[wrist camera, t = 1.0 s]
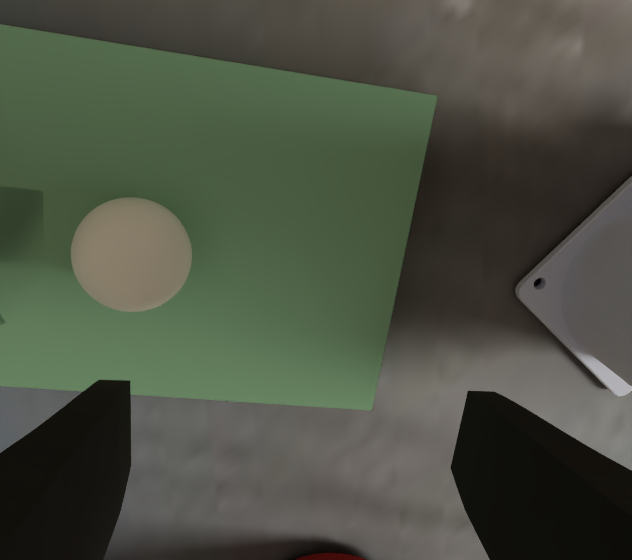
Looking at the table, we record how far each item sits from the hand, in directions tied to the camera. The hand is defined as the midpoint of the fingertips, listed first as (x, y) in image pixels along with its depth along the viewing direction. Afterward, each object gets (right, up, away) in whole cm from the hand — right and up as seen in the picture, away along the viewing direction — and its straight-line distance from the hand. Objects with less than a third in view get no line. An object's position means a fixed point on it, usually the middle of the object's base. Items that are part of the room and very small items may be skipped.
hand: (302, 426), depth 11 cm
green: (-9, +5, +8) cm, 13 cm away
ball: (-5, +4, +5) cm, 8 cm away
